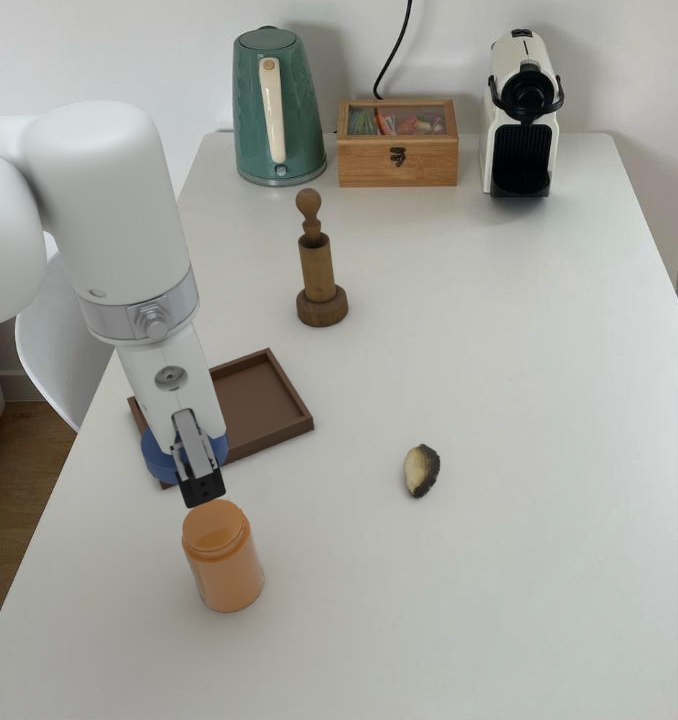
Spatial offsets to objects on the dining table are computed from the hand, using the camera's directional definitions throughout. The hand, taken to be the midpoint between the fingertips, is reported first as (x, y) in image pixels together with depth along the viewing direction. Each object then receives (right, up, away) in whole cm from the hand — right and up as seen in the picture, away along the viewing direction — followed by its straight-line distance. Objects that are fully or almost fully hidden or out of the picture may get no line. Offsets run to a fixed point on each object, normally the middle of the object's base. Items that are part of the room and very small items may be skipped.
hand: (192, 467), depth 66 cm
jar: (+1, -12, +11) cm, 17 cm away
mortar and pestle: (+7, +15, +41) cm, 44 cm away
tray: (-4, +2, +27) cm, 27 cm away
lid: (0, +2, -2) cm, 3 cm away
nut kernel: (+19, -3, +20) cm, 28 cm away
